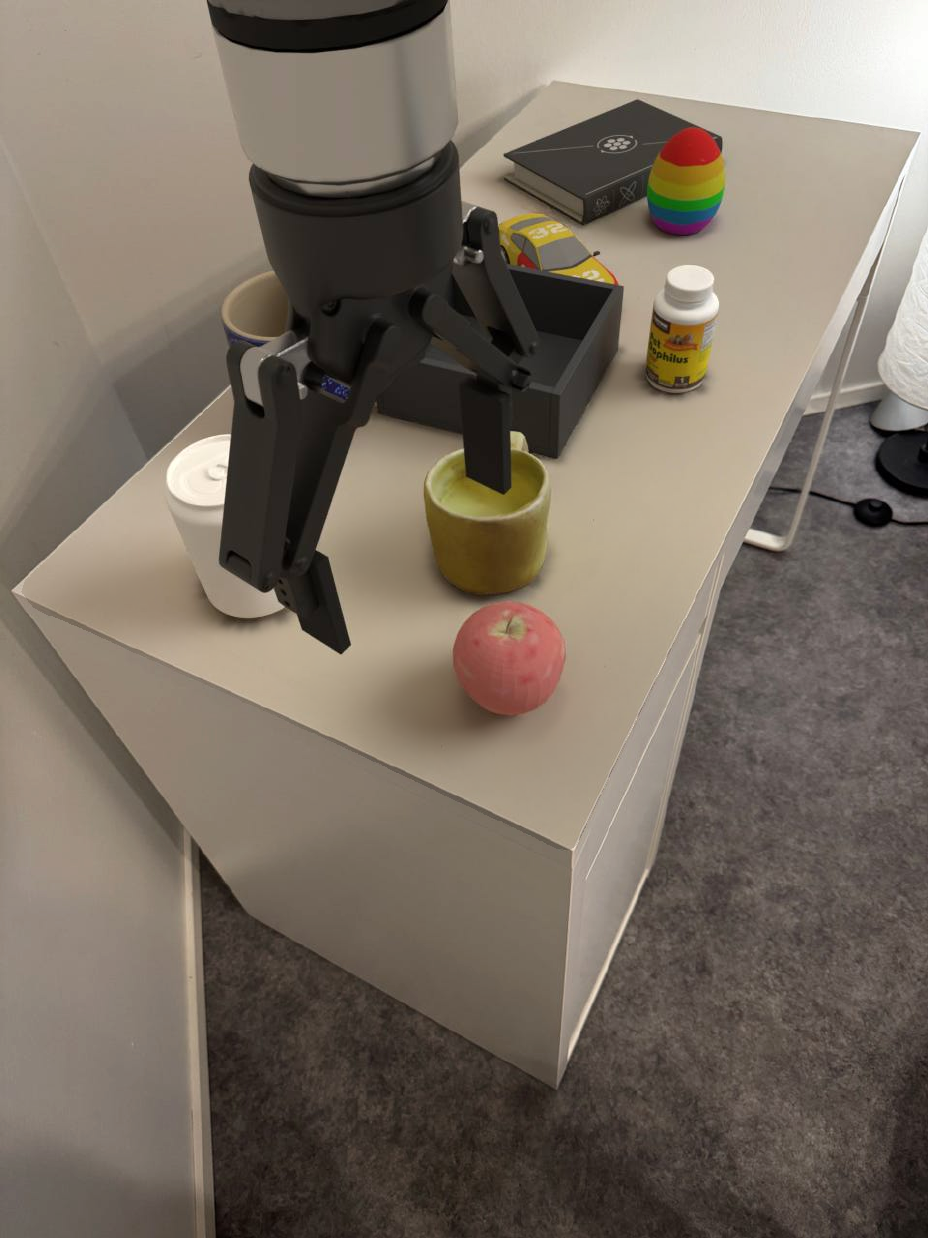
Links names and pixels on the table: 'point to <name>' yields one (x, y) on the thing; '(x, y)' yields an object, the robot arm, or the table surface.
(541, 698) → the apple
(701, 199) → the decorative egg
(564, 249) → the toy car
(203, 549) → the beverage can
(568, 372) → the dark grey open box
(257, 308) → the planter
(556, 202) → the book
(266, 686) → the table surface
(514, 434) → the mug
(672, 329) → the supplement bottle
